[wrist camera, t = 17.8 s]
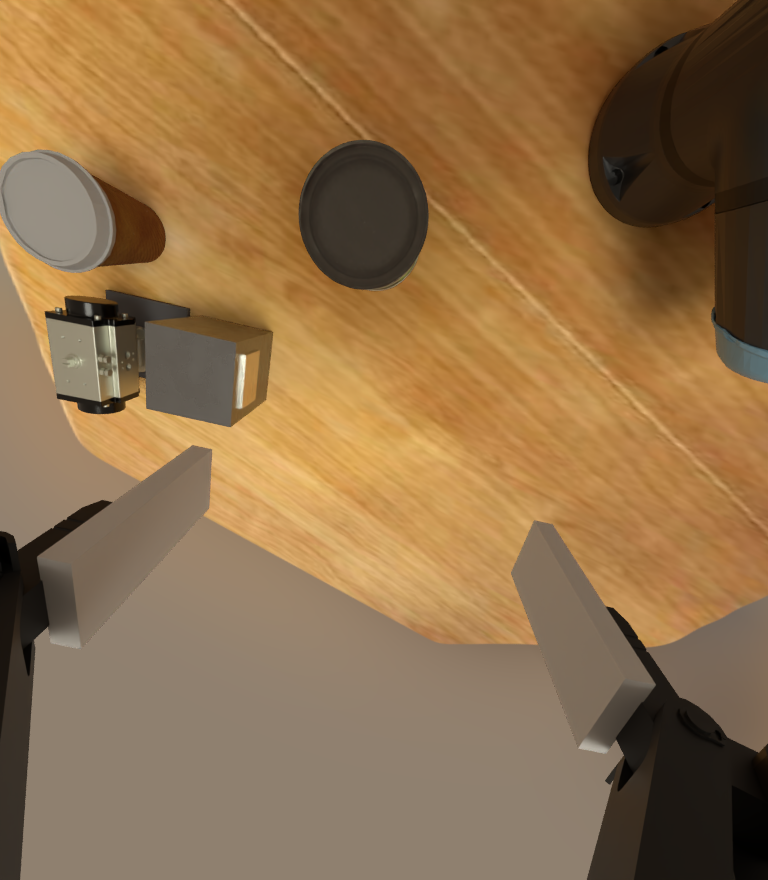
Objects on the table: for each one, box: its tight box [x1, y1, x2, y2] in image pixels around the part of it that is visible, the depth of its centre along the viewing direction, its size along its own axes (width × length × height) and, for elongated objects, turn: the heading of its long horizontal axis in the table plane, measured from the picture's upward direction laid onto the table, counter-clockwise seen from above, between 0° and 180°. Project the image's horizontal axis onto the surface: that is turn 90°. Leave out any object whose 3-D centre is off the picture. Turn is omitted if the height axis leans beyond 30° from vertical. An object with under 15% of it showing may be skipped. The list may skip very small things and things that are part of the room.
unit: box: [145, 316, 273, 427], centre depth 43 cm, size 9×10×11 cm
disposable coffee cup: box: [0, 150, 165, 273], centre depth 38 cm, size 10×10×12 cm
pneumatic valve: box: [45, 296, 146, 414], centre depth 42 cm, size 6×12×12 cm, turn 169°
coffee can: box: [299, 140, 428, 291], centre depth 36 cm, size 10×10×14 cm
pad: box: [106, 290, 190, 378], centre depth 47 cm, size 10×10×1 cm
